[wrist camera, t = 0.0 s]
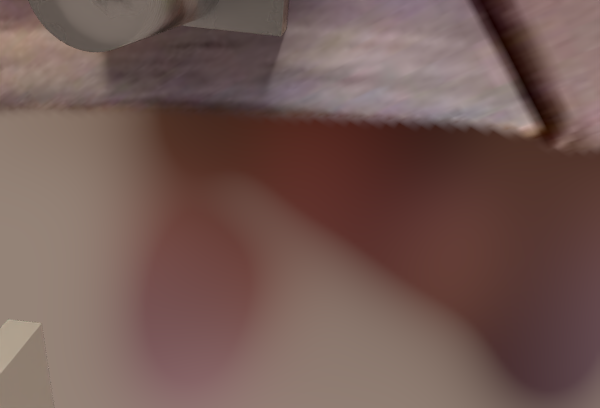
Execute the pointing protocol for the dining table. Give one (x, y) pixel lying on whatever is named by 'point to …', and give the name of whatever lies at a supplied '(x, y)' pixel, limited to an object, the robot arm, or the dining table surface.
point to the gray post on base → (153, 19)
